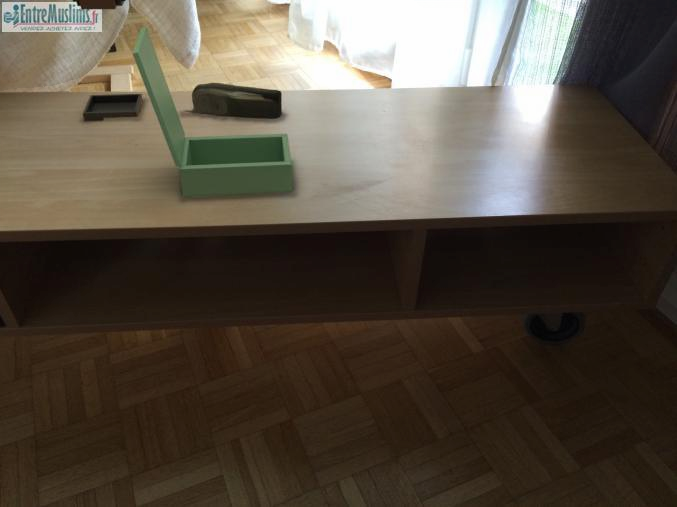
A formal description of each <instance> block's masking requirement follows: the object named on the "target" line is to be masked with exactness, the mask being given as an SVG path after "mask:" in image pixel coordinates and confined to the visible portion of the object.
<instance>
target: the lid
mask: <svg viewBox="0 0 677 507" xmlns="http://www.w3.org/2000/svg"><path fill="white" fill-rule="evenodd" d="M132 56H133V58H134V61H135V64H136V66H137V70H138V71H139V74H140V77H141V79H142V81H143V85H144V87H145V90H146V92H147V95H148V97H149V100H150V103H151V105H152V108H153V111H154V114H155V116H156V119H157V121H158V123H159V126H160V128H161V131H162V134H163V136H164V139H165V142H166V144H167V147H168V149H169V152H170V155H171V157H172V161H173V162H174V165H175V167H179V166H181V160H182V152H183V145H184V138H185V137H186V133H185V130H184V127H183V124H182V121H181V119H180V116H179V113H178V111H177V107H176V105H175V102H174V100H173V96H172V94H171V91H170V88H169V86H168V82H167V80H166V78H165V77H166V76H165V74H164V71H163V68H162V66H161V63H160V61H159V58H158V55H157V51H156V49H155V46H154V44H153V42H152V38H151V35H150V33H149V30H148V27H147V26H142V27H141V28H140V30H139V33H138V37H137V39H136V41H135V45H134V48H133V51H132Z"/></svg>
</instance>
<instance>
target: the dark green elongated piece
mask: <svg viewBox="0 0 677 507" xmlns="http://www.w3.org/2000/svg"><path fill="white" fill-rule="evenodd" d="M282 94H283V93H282V91H281V90H278V89H269V88H261V87H255V86H244V85H235V84H229V83H223V82H208V83H202V84H201V83H199V84H197V85H196V86H195V87H194V89H193V90H192V93H191V102H192V107H193V108H192V109H191V110H184V112H183V113H187V114H188V113H189V114H202V115H212V116H213V115H214V116H218V117H230V118H243V119H262V120H263V119H265V120H275V119H279V118H280V117H281V116H282V115H283V110H282V109H283V108H282V107H283V106H282V101H283V100H282V98H283V97H282Z"/></svg>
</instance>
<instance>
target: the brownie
mask: <svg viewBox="0 0 677 507" xmlns="http://www.w3.org/2000/svg"><path fill="white" fill-rule="evenodd" d="M79 2H80V6H79V7H80V9H81V10H116V8H117V7H118V6H117V5H116V0H79Z"/></svg>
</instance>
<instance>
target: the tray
mask: <svg viewBox="0 0 677 507" xmlns="http://www.w3.org/2000/svg"><path fill="white" fill-rule="evenodd" d="M143 103H144V100H143V95H142V93H120V94H119V93H117V94H116V93H115V94H90V96H89V98H88V100H87V103H86V105H85V107H84V110H83V112H82V116H83V120H84V122H95V121H97V122H98V121H104V119H109V118H110V119H111V118H113V119H114V118H138V117H139V113H141V109H142V105H143Z"/></svg>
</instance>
